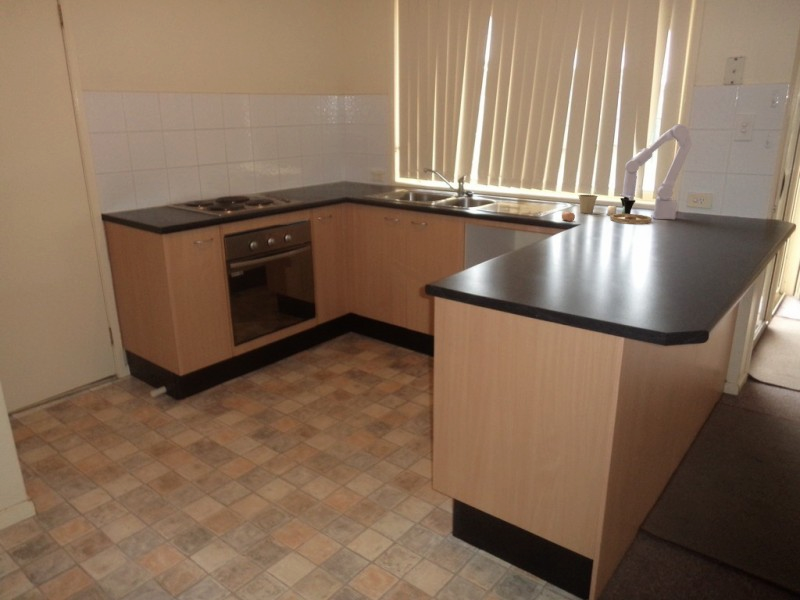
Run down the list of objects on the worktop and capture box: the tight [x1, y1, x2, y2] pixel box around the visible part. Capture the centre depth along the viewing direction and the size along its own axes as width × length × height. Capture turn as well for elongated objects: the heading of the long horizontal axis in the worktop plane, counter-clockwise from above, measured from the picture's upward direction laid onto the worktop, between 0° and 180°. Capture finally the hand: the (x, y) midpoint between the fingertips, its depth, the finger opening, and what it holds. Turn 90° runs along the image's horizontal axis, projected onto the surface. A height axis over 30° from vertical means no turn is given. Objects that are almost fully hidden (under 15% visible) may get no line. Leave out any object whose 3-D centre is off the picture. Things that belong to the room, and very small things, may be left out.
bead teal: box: [621, 206, 632, 214], centre depth 297 cm, size 4×4×4 cm
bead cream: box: [606, 205, 617, 217], centre depth 298 cm, size 4×4×4 cm
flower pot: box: [578, 194, 599, 214], centre depth 306 cm, size 9×9×9 cm
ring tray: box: [609, 213, 653, 225], centre depth 285 cm, size 18×18×2 cm
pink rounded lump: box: [561, 211, 576, 222], centre depth 283 cm, size 4×4×4 cm
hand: (626, 213), depth 298 cm, fingers closed on bead teal, 4 cm apart
